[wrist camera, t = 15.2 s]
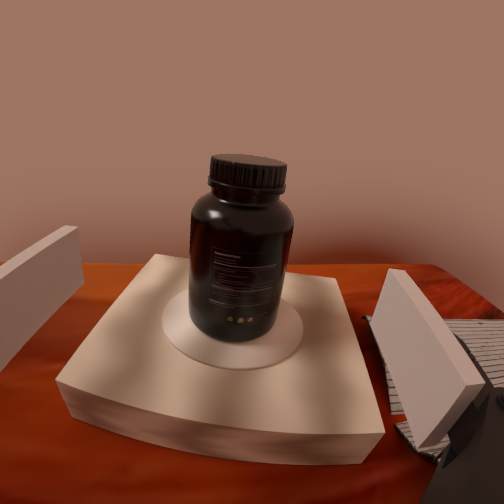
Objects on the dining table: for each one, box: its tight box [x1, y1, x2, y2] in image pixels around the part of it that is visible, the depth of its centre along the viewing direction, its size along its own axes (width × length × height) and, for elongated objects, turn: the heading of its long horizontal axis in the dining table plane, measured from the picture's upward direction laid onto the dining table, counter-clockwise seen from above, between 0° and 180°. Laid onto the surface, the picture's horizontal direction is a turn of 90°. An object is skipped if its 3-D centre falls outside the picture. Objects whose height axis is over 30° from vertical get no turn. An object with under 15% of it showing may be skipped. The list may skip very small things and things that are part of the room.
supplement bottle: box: [188, 154, 294, 342], centre depth 21 cm, size 7×7×12 cm
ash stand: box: [55, 254, 385, 465], centre depth 24 cm, size 20×20×4 cm
